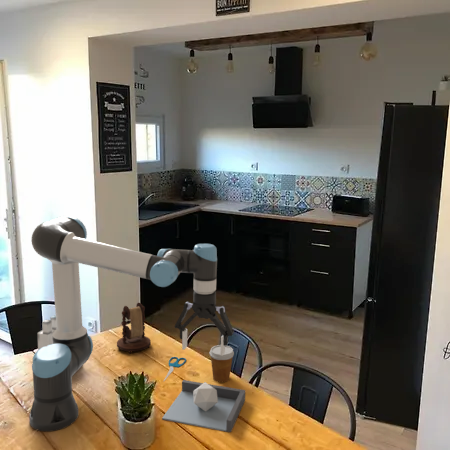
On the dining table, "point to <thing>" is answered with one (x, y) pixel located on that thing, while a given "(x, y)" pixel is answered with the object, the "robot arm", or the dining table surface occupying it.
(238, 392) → the tray
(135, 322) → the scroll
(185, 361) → the scissors
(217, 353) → the disposable coffee cup
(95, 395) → the dining table surface
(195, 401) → the die
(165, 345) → the dining table surface
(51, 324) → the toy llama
